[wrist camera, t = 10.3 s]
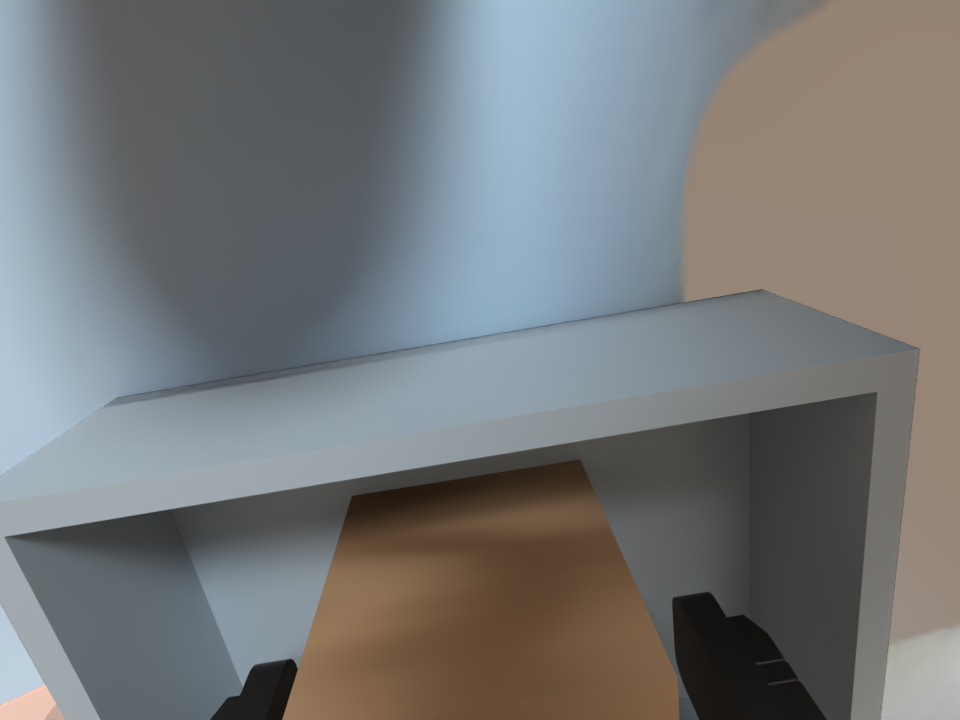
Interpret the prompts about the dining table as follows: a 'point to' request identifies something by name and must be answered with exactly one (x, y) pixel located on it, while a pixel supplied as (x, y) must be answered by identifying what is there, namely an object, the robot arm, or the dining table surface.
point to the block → (483, 609)
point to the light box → (31, 706)
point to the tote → (466, 453)
